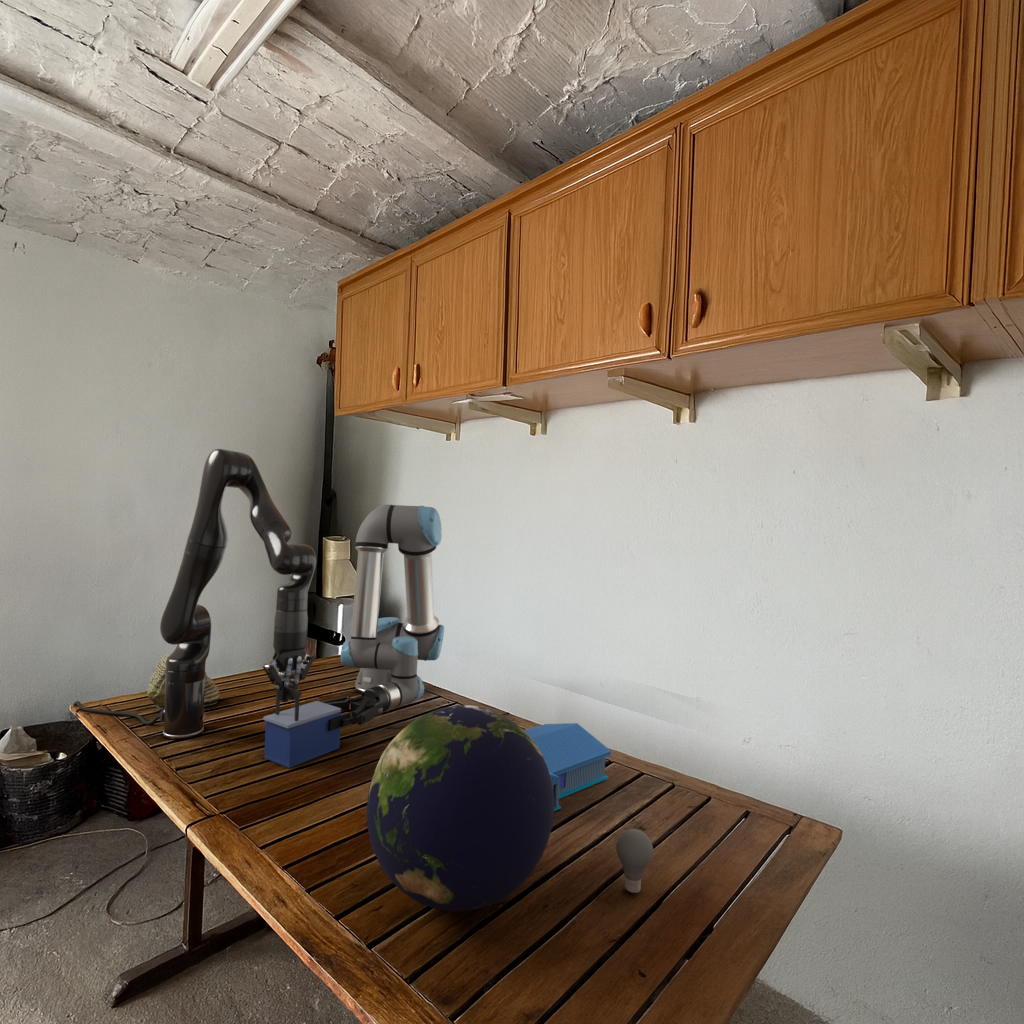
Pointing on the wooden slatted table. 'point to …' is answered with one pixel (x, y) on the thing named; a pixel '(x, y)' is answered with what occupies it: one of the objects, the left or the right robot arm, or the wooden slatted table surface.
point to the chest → (300, 741)
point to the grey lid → (299, 711)
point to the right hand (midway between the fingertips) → (315, 720)
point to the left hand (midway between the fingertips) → (287, 700)
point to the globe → (460, 808)
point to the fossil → (158, 687)
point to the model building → (570, 757)
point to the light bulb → (634, 857)
